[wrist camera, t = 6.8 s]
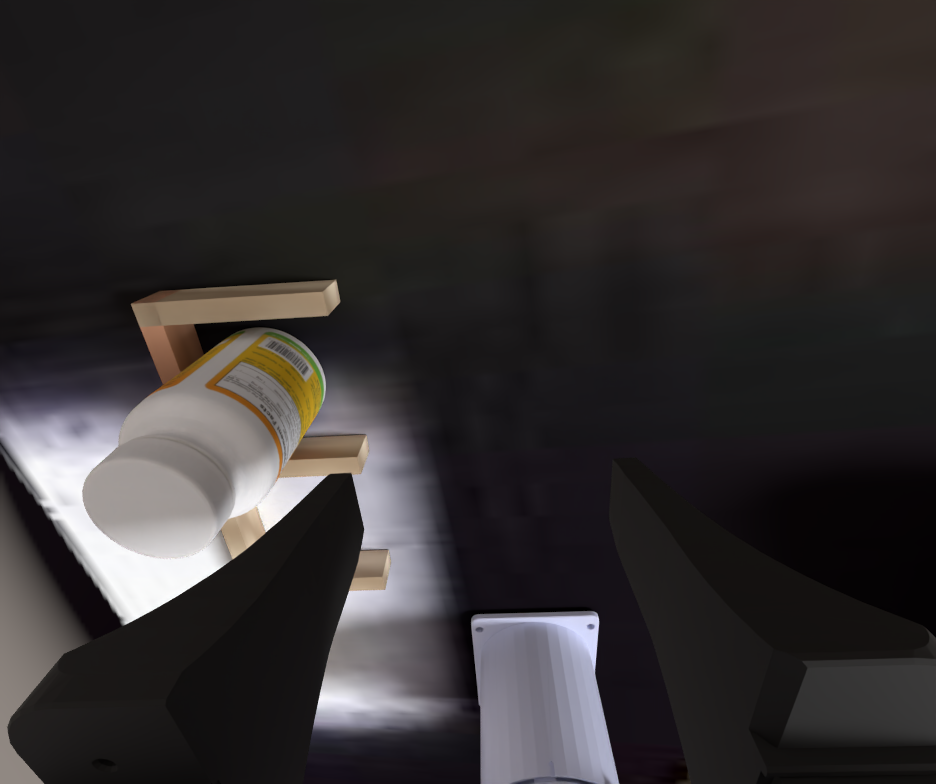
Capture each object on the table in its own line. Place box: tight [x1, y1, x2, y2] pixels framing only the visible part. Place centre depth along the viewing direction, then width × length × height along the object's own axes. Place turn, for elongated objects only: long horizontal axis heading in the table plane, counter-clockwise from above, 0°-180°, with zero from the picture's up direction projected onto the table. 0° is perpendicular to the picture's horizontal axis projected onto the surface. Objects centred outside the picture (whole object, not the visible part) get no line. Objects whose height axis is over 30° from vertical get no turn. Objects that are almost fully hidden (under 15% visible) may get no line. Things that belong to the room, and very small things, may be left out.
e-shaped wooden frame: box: [131, 280, 391, 591], centre depth 24 cm, size 17×8×2 cm, turn 4°
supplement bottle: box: [82, 327, 326, 559], centre depth 19 cm, size 5×5×10 cm
